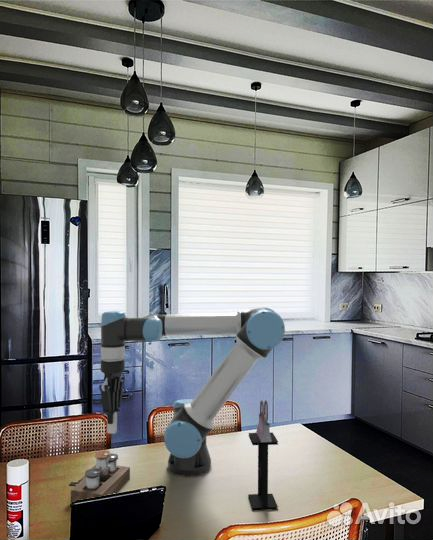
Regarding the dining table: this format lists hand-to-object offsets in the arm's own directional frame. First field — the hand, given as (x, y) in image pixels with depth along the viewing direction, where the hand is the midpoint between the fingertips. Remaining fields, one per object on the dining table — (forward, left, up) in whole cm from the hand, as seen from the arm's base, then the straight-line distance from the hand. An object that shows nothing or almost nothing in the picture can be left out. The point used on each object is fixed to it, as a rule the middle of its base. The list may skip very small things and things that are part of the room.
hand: (111, 432), depth 133 cm
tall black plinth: (-49, 0, -16) cm, 51 cm away
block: (0, +6, -16) cm, 17 cm away
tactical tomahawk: (+9, -5, -17) cm, 20 cm away
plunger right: (0, 0, -15) cm, 15 cm away
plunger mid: (0, +6, -12) cm, 13 cm away
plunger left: (0, +11, -15) cm, 19 cm away
